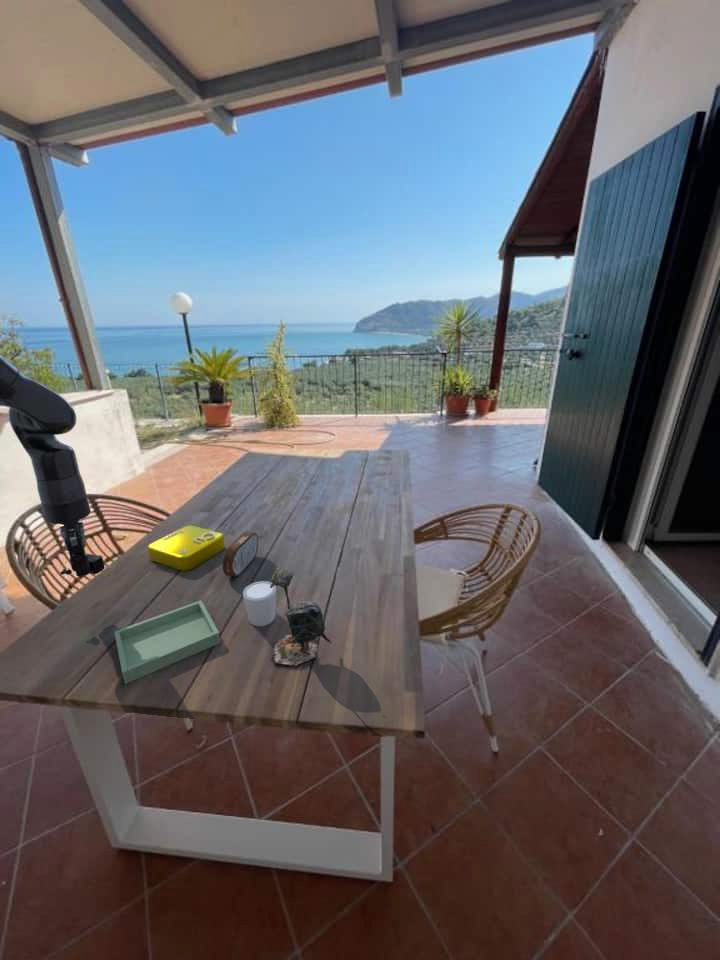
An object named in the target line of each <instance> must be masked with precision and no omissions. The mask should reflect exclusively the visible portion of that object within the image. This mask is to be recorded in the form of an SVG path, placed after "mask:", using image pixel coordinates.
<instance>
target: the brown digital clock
mask: <svg viewBox="0 0 720 960" xmlns="http://www.w3.org/2000/svg"><path fill="white" fill-rule="evenodd" d="M258 549H259V536H258V534H257V533H256V532H252V531H249V530H246V531H243V532H242V533H241V534H240V535H239V536H238V537H237V538H236V539H235V540H233V542H232V543H230V544H229V546H228V547H227V549H226V550H225V552H224V555H223V559H222V572H223V574H224V575H225V576H228V577H229V576H230V577H239V576H240V575H241V574H242V573H243V572H244V571H245V570H246V568H247V567H249V565H250V564H251V563H252V562H253V561H254V559H255V558H256V557H257V553H258Z"/></svg>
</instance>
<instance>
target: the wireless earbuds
mask: <svg viewBox="0 0 720 960" xmlns="http://www.w3.org/2000/svg"><path fill="white" fill-rule="evenodd" d="M79 554H82V553H78V554H76V555H79ZM86 555H87V558H86V560H87V564H88V568H89V574H91V575H97V574H99V573H101V572H102V571H104V570H105V568H106V567H105V562H104V558H103V555H99V554H91V553H86ZM74 556H75V555H74ZM68 559H69V563H70V567H71V569H70V568H68V567H64V568H62V570H61V571H60V572H59V575H62V576H64V575H66V576H70V575H71V574H72V573H73V572H75V573H76V571H75V567H74V563H72V562H71V561H70V559H71V558H70V557H69V558H68ZM89 574H88V575H89Z"/></svg>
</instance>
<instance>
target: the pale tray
mask: <svg viewBox="0 0 720 960" xmlns="http://www.w3.org/2000/svg"><path fill="white" fill-rule="evenodd" d="M114 637H115V638H114V639H115V643H116V648H117V654H118V658H119V664H120V669H121V673H122V678H123V681H124V684H125V685H127V684H129V683H131V682H133V681H136V680H138V679H141V678H143V677H145V676H147V675H150V674H152V673H154V672H156V671H159V670H161V669H164V668H166V667H168V666H171V665H173V664H176V663H178V662H181V661H182V660H184V659H187V658H190V657H192V656H194V655H196V654H198V653H201V652H204V651H205V650H207V649H210V648H212V647H215V646H217V645H219V644H221V634H220V631H219V629H218V628H217V626H216V624H215V623H214V621H213V619H212V617H211V615H210V613H209V611H208V610H207V608H206V606H205V603H204V602H203V601H202V600H197V601H195V602H192V603H189V604H187V605H183V606H181V607H179V608H176V609H173V610H170V611H168V612H165V613H162V614H159V615H156V616H153V617H151V618H148V619H145V620H143V621H140V622H137V623H134V624H131V625H128V626H126V627H122V628H119V629H118V630H115V631H114Z"/></svg>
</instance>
